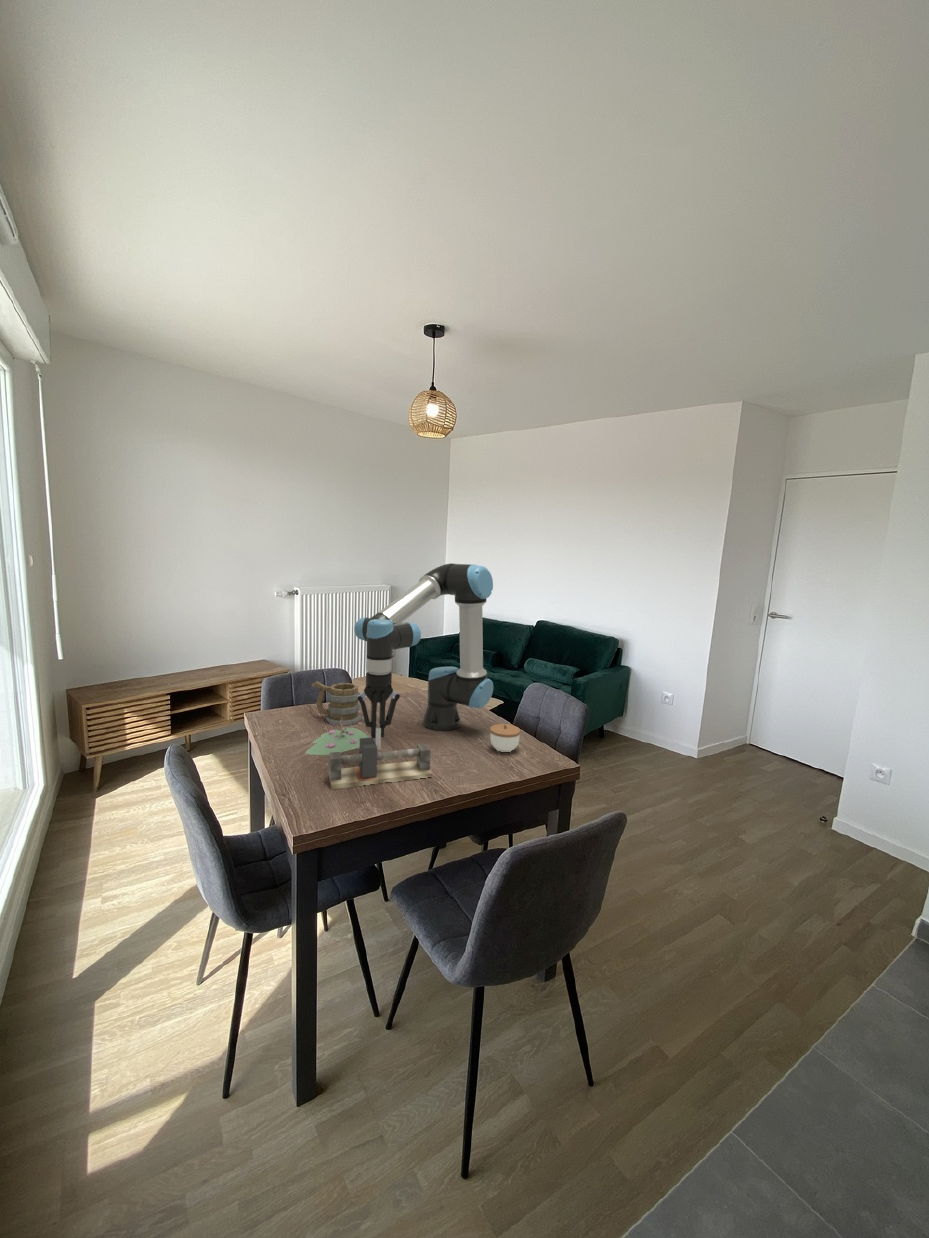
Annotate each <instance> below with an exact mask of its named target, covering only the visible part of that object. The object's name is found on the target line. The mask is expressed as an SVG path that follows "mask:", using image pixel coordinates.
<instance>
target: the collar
mask: <svg viewBox="0 0 929 1238" xmlns="http://www.w3.org/2000/svg"><path fill="white" fill-rule="evenodd" d="M358 749H359V751H358V752H359V753H358V754H362V762H358V766H359V768H360V771H361V774H362V777H363V778H369V777H377V765H378V760H377V752H378V749H377V745H376V743H375V741H374V738H372V737H368V738H360V746H359V748H358Z"/></svg>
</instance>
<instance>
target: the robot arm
mask: <svg viewBox="0 0 929 1238" xmlns="http://www.w3.org/2000/svg"><path fill="white" fill-rule="evenodd" d="M493 580H494V579H493V576H492V574H491V571H490V570H489V569H488V568H487V567H485V566H483V565H478V564H471V563H470V564H468V563H467V564H466V563H445V564H441V565H439V566H438V567H435V568H433V569H431V570H430V571H428V572H426V573H424V574H423V576H421V577H420V578H419V580H418V582H417V583H416V584H415V585H413V586H412V587H411V588H409V589H408V590H407V591H405V592H404V593H403V594H401V595H400V596H398V597H397V598H396V599H394V600H393V601H391V603H389V604H388V605H386V606H385V607H384V608H382V609H381V610H380V611H378V612H377V613H375V614H374V615H373V616H371V617H360V618H358V619H357V621H356V622H355V624H354V629H353V630H354V635H355V636H356V637H357V638H358V639H359V640H361V641H364V642H366V660H365V661H366V665H365V670H366V673H365V688H364V689H363V692H361V693H360V695H359V694H358V695H357V699H358V703H359V705H360V709H361V712H362V716H363V720H364V723H365V726H366V727H367V728H370V736H371V737H372V738H373V739H374V741H375V743H376V745H377V750H381V743H382V740H381V739H382V738H384V737H385V728H386V727H387V726H391V724H392V720H393V716H394V713H395V710H396V709H395V708H396V705H397V703H398V701H399V699H400V697H401V695H400V694H399V692H396V691H394V689H393V687H392V683H393V682H392V681H393V680H392V677H393V676H392V675H393V673H392V672H391V671H392V670H393V651H395V650H400V649H405V648H411V647H413V646H416V645H418V643H420V641H421V637H422V635H421V634H422V632H421V629H420V627H419V625H417V624H416V623H414V622H404V621H406V620H407V619H408V618H409V617H411V616H412V615H413V614H415V613H416V612H417V611H418V610H420V609H421V608H422V607H423V606H425V605H426V604H427V603H428V602H430V601H431V600H436V599H438V598H439V597H441V596H445V595H447V596H448V595H450V596H454V603H455V604H456V605H457V606H458V610H459V611H458V615H459V618H458V620H459V625H458V626H459V659H460V660H459V665H460V666H459V667H460V668H459V667H456V666H440V667H434V668H432V669H430V671H429V672H428V679H427V686H428V687H427V705H426V707H425V711H424V714H423V717H422V725H423V727H425V728H426V729H430V730H433V731H434V730H435V731H452V730H456V729H458V728H459V727H460V726H461V716H460V712H459V709H458V704H459V705H462V706H465V707H469V708H471V709H472V708H474V709H482V708H485V707H486V705H488V703H489V701H490V700H491V698H492V696H493V692H494V683H493V681H492V680H491V679H490V678H488V672H487V670H486V669H485V668H484V654H483V652H484V650H483V648H484V645H483V644H484V642H483V641H484V640H483V639H484V637H483V631H484V630H483V606H484V605H485V604H486V603H487V599H488V598H490V596H491V595H492V591H493V590H494V589H493V588H494V582H493ZM366 698H368V699H369V701H370V705H371V706H370V708H371V709H370V718H369V714H368V710H367V705H366V702H365V701H366ZM389 698H390V703H389V705H388V708H387V709H388V710H387V713H386V704H387V703H386V702H387V701H388V699H389ZM378 703H379V716H378V717H379V722H378V723H379V724H377V715H378V713H377V709H378ZM371 737H370V738H371Z"/></svg>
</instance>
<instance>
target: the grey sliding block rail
mask: <svg viewBox="0 0 929 1238" xmlns="http://www.w3.org/2000/svg"><path fill="white" fill-rule="evenodd" d="M431 752H432V751H431V748H430V747H429V745H428V744H427V743H421V744H416V748H409V749H398V750H388V751H387V750H386V751H377V761H385V760H394V759H395V760H396V759H404V758H414V757H415V758H416V760H410V761H402V762H401V761H400V762H394V763H393V762H392V763H390V762H389V763H382V764H377V777H369V778H363V777H362V774H361V771H360V768H359V765H358V766H353V767H344V768H343V767H342V765H345V764H354V763H357V764H358V763H359V762H362V754H359V753H355V754H343V755H341V752H333V753H329V755H328V768H329V769H328V780H329V784H330V785H329V786H330V790H339V789H346V788H347V789H349V788H356V787H357V786H358V787H364V786H363V785H366V786H371V785H370V784H375V785H379V784H378V783H383V784H386V783H385V782H392V783H397V782H398V781H401V782H405V781H404V780H409V781H414V780H413V779H418V780H421V779H420V778H426V779H428V778H427V777H432V778H433V772H432V771H431ZM398 783H399V782H398Z"/></svg>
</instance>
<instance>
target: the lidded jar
mask: <svg viewBox="0 0 929 1238" xmlns="http://www.w3.org/2000/svg"><path fill="white" fill-rule="evenodd" d="M489 731H490V732H489V738H490V739H489V740H490V743H491V745H492V747H493V748H494V749H496V750H498V751H501V752H510V753H512V752H513V751H514V750H515V749H516V748H517V747H518V745H519V742H520V738H521V737H520V735H521V729H520V728H519V727H517V726H515V725H514V724H507V723H497V724H496V723H495V724H493V725H491V726H490V728H489ZM496 750H495V751H496ZM512 750H513V751H512ZM498 751H497V752H498ZM511 751H512V752H511Z"/></svg>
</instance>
